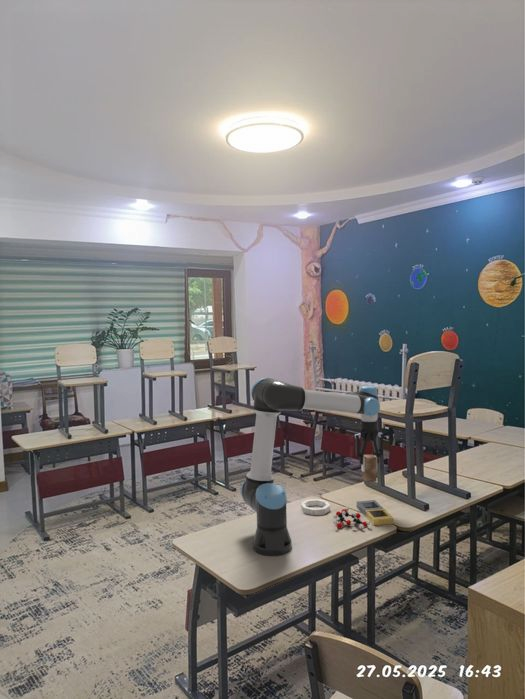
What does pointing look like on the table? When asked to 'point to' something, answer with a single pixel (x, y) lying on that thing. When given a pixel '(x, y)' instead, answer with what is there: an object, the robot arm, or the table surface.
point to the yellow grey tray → (375, 512)
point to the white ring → (317, 510)
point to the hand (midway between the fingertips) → (369, 470)
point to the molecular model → (348, 522)
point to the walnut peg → (370, 468)
